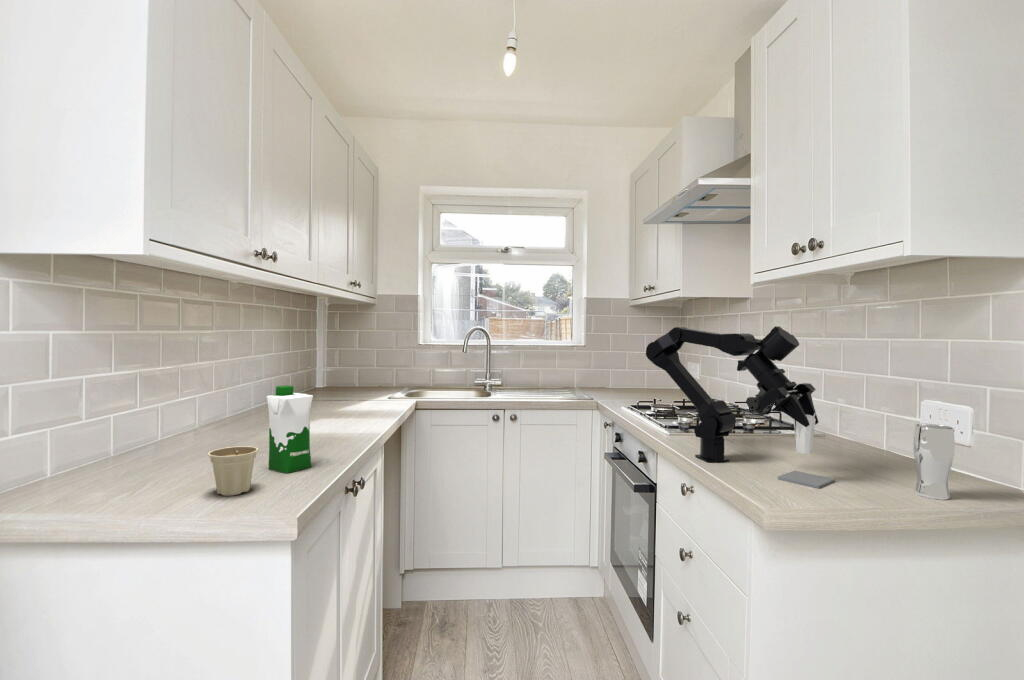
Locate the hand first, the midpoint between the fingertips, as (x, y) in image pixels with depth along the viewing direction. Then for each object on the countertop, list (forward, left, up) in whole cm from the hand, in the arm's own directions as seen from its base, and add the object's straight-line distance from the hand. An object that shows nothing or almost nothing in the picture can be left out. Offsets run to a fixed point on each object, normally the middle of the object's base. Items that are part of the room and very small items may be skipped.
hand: (812, 424), depth 124 cm
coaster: (-1, 0, -13) cm, 13 cm away
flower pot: (-15, -128, -14) cm, 130 cm away
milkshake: (-1, -1, -7) cm, 7 cm away
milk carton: (-32, -120, -14) cm, 125 cm away
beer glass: (+13, +19, -14) cm, 27 cm away
